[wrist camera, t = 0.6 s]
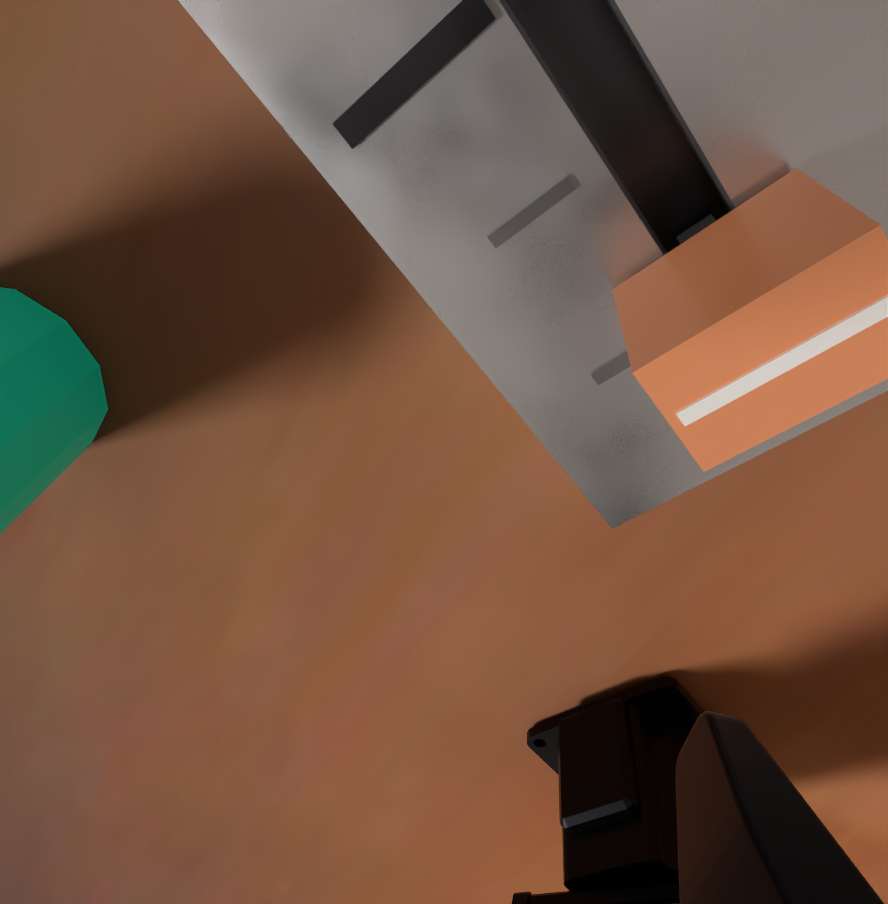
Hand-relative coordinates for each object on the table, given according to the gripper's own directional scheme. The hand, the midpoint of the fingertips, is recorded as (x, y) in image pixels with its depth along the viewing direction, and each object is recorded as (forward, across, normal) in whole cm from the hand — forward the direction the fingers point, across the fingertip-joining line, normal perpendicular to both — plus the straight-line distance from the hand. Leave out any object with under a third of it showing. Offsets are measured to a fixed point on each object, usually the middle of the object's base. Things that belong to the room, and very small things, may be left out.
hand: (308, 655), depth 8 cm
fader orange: (+13, -6, -3) cm, 14 cm away
